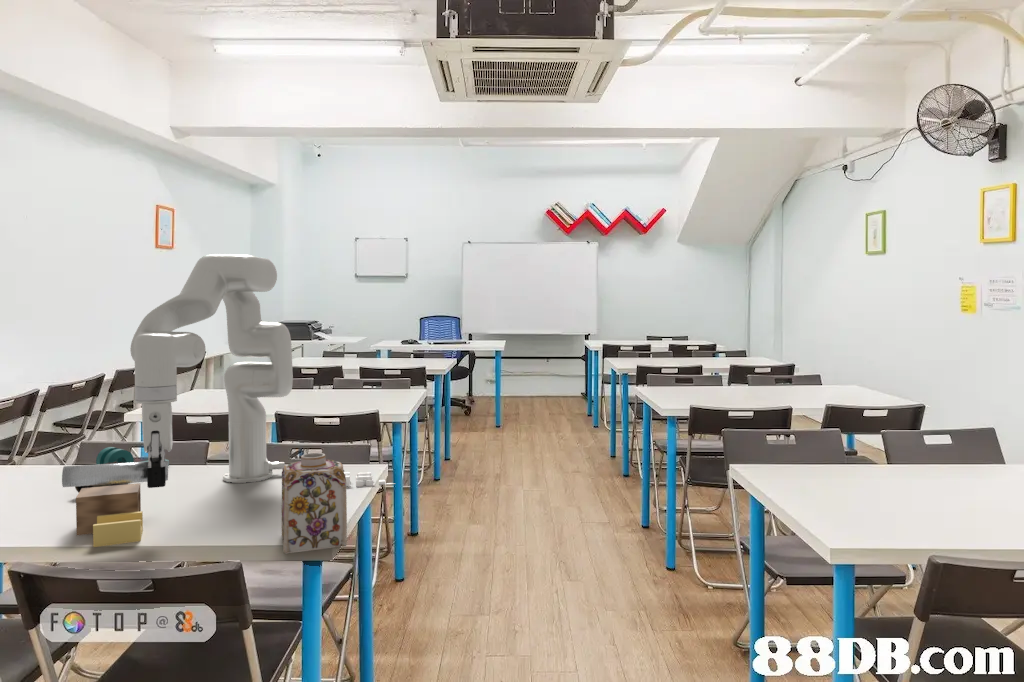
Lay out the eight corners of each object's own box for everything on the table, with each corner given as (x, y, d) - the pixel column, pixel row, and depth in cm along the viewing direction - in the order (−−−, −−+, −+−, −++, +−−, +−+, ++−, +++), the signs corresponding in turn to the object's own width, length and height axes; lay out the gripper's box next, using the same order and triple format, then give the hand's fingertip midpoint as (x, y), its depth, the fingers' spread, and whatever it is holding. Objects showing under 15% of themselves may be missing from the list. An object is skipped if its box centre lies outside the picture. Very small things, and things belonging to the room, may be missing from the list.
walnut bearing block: (140, 519, 151) (140, 483, 151) (138, 529, 144) (137, 492, 143) (82, 525, 146) (81, 488, 146) (76, 536, 139) (75, 497, 139)
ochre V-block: (142, 532, 142) (142, 511, 142) (140, 543, 136) (140, 520, 135) (98, 537, 139) (97, 515, 138) (93, 548, 132) (93, 525, 132)
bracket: (108, 481, 185) (107, 452, 185) (96, 477, 189) (95, 449, 189) (173, 468, 200) (173, 441, 199) (161, 465, 204) (160, 439, 203)
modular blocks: (328, 494, 175) (328, 478, 174) (328, 487, 181) (328, 472, 181) (406, 489, 179) (406, 474, 179) (403, 483, 186) (403, 468, 186)
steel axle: (168, 478, 142) (168, 459, 142) (167, 482, 138) (167, 462, 138) (65, 485, 134) (65, 464, 134) (61, 489, 131) (62, 468, 131)
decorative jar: (347, 551, 132) (347, 458, 131) (283, 558, 128) (283, 463, 127) (340, 532, 143) (340, 447, 142) (281, 538, 139) (280, 450, 138)
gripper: (175, 398, 133) (176, 492, 133) (177, 389, 148) (178, 474, 149) (131, 400, 130) (132, 496, 130) (138, 391, 145) (139, 477, 145)
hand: (157, 483), depth 139 cm, fingers closed on steel axle, 4 cm apart
